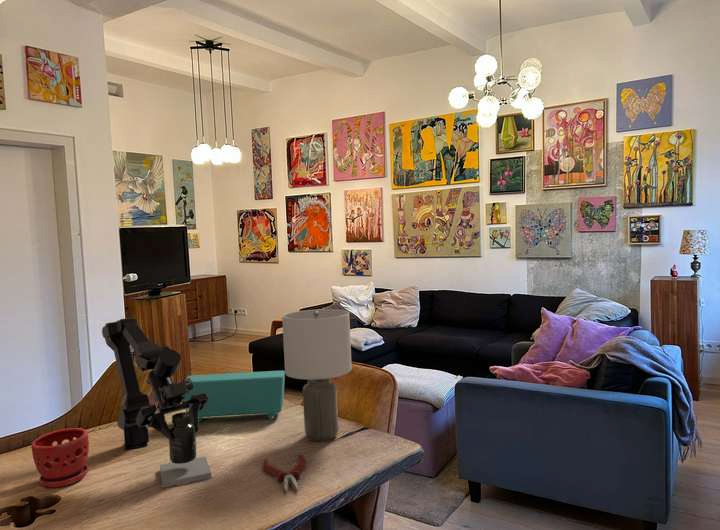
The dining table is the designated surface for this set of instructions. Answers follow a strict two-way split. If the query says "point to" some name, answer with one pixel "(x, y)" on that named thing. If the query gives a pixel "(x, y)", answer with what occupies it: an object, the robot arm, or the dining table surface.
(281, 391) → the teal foam block
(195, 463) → the grey flat square slab
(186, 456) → the supplement bottle
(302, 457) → the pliers
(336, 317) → the lamp
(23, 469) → the dining table surface
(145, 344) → the robot arm
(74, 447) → the plant pot
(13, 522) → the dining table surface
